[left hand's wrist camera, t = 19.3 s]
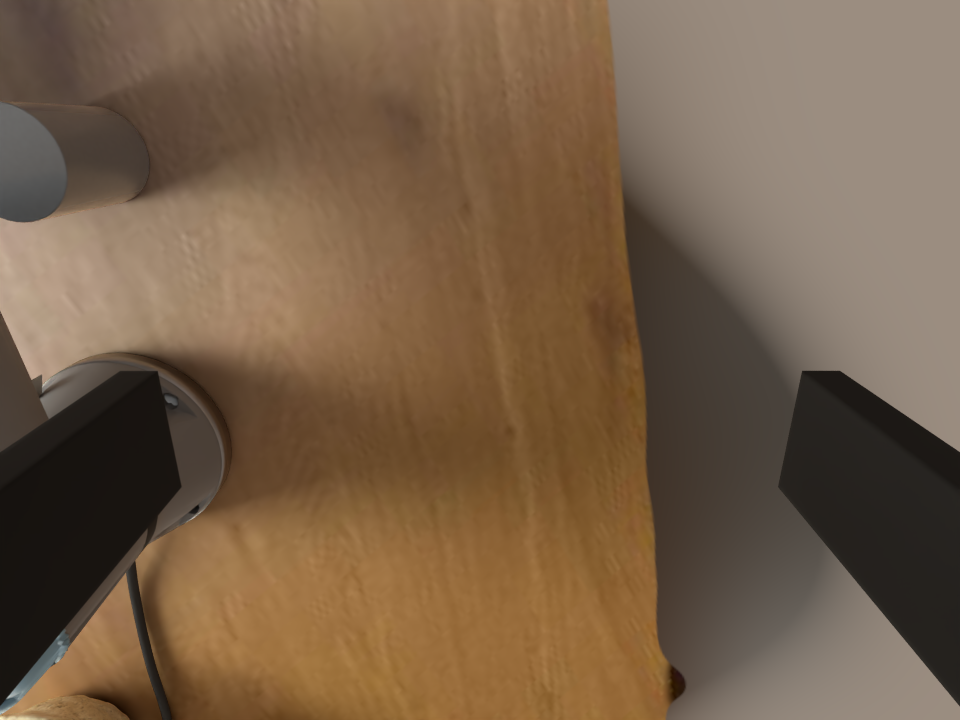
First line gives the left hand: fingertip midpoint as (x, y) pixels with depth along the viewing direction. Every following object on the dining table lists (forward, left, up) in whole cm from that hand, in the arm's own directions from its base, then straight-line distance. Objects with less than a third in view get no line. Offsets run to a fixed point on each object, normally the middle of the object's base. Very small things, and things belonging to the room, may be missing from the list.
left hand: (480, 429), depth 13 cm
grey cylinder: (+4, +26, -33) cm, 42 cm away
